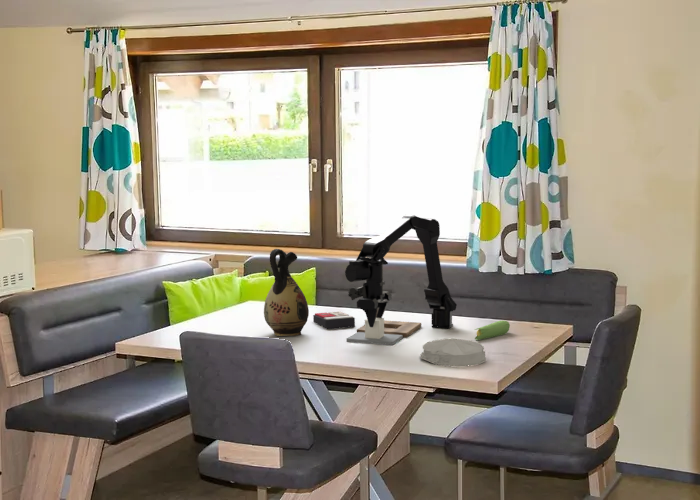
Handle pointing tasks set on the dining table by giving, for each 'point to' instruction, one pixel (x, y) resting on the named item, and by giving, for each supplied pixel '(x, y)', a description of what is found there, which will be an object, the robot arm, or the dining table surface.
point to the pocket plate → (402, 328)
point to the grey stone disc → (453, 352)
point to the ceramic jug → (285, 298)
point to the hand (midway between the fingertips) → (374, 325)
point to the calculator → (334, 320)
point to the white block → (375, 329)
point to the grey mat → (386, 339)
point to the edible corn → (492, 330)
